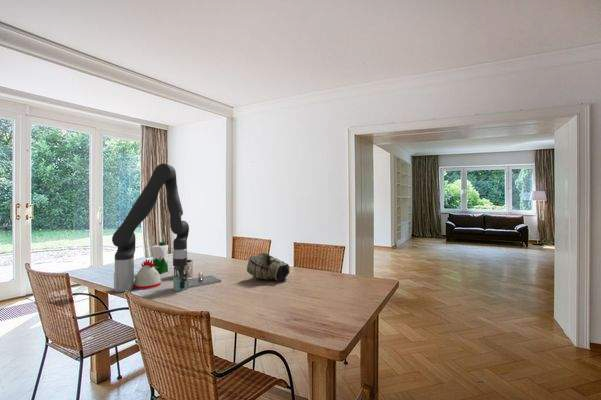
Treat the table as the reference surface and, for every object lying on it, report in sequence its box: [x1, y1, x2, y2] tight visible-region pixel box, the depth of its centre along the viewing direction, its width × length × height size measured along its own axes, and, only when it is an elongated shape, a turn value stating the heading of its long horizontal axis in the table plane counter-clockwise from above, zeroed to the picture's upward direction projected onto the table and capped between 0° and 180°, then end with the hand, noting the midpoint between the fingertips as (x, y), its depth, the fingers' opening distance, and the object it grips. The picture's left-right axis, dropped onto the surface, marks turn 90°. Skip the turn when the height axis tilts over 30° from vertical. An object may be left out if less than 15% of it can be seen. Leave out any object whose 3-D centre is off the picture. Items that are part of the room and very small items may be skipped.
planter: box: [184, 259, 194, 278], centre depth 202 cm, size 11×11×10 cm
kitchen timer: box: [134, 259, 162, 290], centre depth 181 cm, size 14×14×15 cm
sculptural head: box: [246, 251, 290, 282], centre depth 197 cm, size 17×21×25 cm
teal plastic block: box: [172, 276, 188, 292], centre depth 174 cm, size 6×6×7 cm
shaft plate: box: [187, 271, 222, 289], centre depth 188 cm, size 20×14×6 cm
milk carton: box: [151, 241, 169, 275], centre depth 212 cm, size 9×9×20 cm
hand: (180, 286), depth 174 cm, fingers open, 6 cm apart
